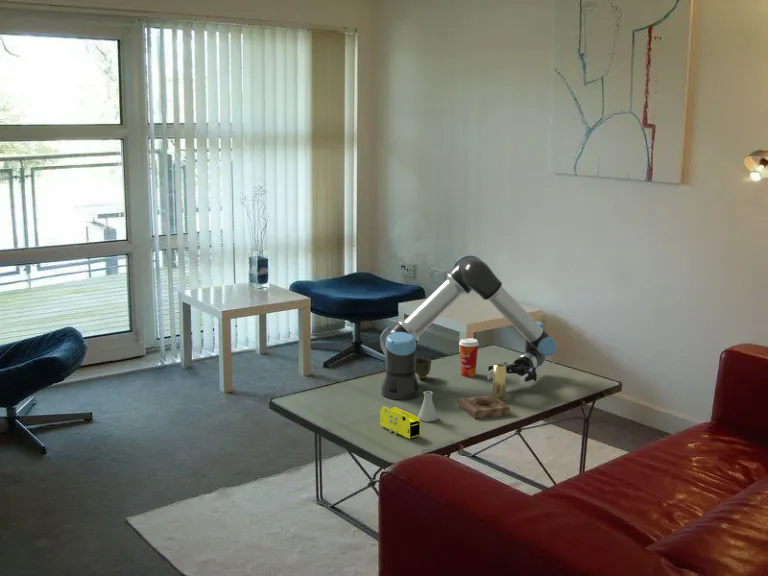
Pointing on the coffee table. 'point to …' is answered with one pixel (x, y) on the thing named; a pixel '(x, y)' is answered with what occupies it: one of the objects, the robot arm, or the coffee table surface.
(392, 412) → the yellow toy chassis
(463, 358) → the coffee cup
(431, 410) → the flask
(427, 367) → the cup
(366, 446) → the coffee table surface
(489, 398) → the jig plate
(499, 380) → the cylinder
